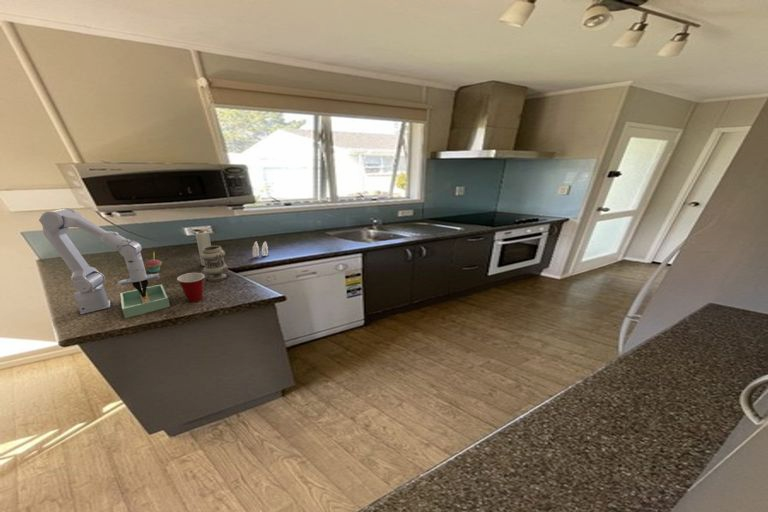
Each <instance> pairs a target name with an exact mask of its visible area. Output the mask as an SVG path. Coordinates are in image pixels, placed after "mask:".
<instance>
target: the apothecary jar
mask: <svg viewBox="0 0 768 512" xmlns="http://www.w3.org/2000/svg"><path fill="white" fill-rule="evenodd" d="M225 256H226V251H225V250H223V248H222V247H221V246H220V245H211V246H209V247H205V248H203V252H202V253H201V258H202V259H204V262H205V266H203V273H204V274H206V275H208V277H207V281H209V282H218V281H223V280H225V279H227V278H228V274H226V273H225V272H227V270H229V266H228V265H229V264H227V263H225V258H224V257H225Z"/></svg>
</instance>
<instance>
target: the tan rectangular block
mask: <svg viewBox="0 0 768 512" xmlns="http://www.w3.org/2000/svg"><path fill="white" fill-rule="evenodd" d="M142 292H143V291H142ZM139 295H140V299H141V302H142V303H146V302H150V299H149V296H148V293H147V292H146V296H145V297H142V295H141V294H140V293H139Z"/></svg>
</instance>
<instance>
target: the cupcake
mask: <svg viewBox="0 0 768 512" xmlns="http://www.w3.org/2000/svg"><path fill="white" fill-rule="evenodd" d="M155 257H156V255H155V252H152V259H149V260H146V261H145V262H143V263H144V267H145V269H146V270H148V272H149V273H158V272H159V271H160V270H161V269H160V268H161V265H162V264H163V263H162V260H160V259H156V258H155Z"/></svg>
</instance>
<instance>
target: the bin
mask: <svg viewBox="0 0 768 512" xmlns="http://www.w3.org/2000/svg"><path fill="white" fill-rule="evenodd" d="M141 289H142V288H141ZM142 291H143V289H142ZM146 292H147V293H148V296H149V299H150V302H146V303H142V302H141V299H140V295H139V293H140V292H139V291H138V290H137V289H133V290H128V291H124V292H120V293H119V296H120V304H121V310H122V313H123V316H124V319H128V318H129V319H130V318H131V317H136V316H139V315H144V314H148V313H152V312H155V311H159V310H162V309H166V308H170V307H171V304H170V300H169V297H168V294H167V292H166V290H165V287H164V286H163V284H162V283H161V284H156V285H152V286H147V288H146Z"/></svg>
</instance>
